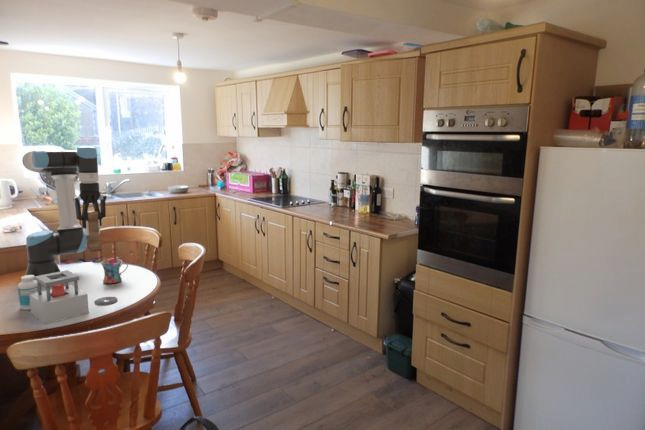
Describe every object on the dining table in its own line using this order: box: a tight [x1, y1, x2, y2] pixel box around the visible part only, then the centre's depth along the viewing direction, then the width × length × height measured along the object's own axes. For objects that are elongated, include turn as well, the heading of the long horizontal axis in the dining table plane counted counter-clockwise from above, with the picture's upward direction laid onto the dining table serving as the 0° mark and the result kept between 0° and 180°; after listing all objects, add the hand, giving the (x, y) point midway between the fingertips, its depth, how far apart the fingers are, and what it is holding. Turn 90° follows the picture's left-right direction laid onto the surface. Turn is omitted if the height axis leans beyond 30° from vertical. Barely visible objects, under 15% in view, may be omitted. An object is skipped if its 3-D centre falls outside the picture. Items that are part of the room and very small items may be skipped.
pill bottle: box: [17, 275, 38, 311], centre depth 179 cm, size 8×7×14 cm
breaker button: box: [50, 283, 65, 298], centre depth 174 cm, size 4×4×8 cm
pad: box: [94, 296, 118, 306], centre depth 188 cm, size 9×9×1 cm
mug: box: [100, 258, 129, 284], centre depth 214 cm, size 12×9×11 cm
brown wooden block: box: [86, 209, 101, 253], centre depth 192 cm, size 4×4×18 cm
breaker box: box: [29, 269, 90, 325], centre depth 174 cm, size 16×16×16 cm
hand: (92, 234), depth 192 cm, fingers closed on brown wooden block, 4 cm apart
